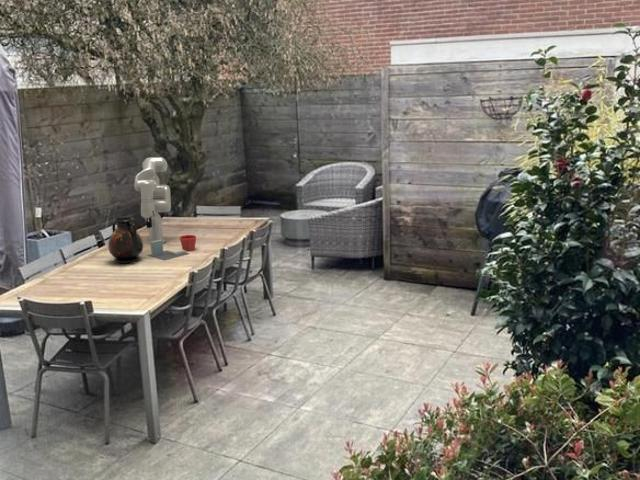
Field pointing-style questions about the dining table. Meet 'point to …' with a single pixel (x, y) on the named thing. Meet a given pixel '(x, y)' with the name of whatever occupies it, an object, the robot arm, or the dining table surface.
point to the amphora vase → (125, 241)
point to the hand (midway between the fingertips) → (149, 227)
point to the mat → (167, 256)
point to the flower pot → (188, 242)
